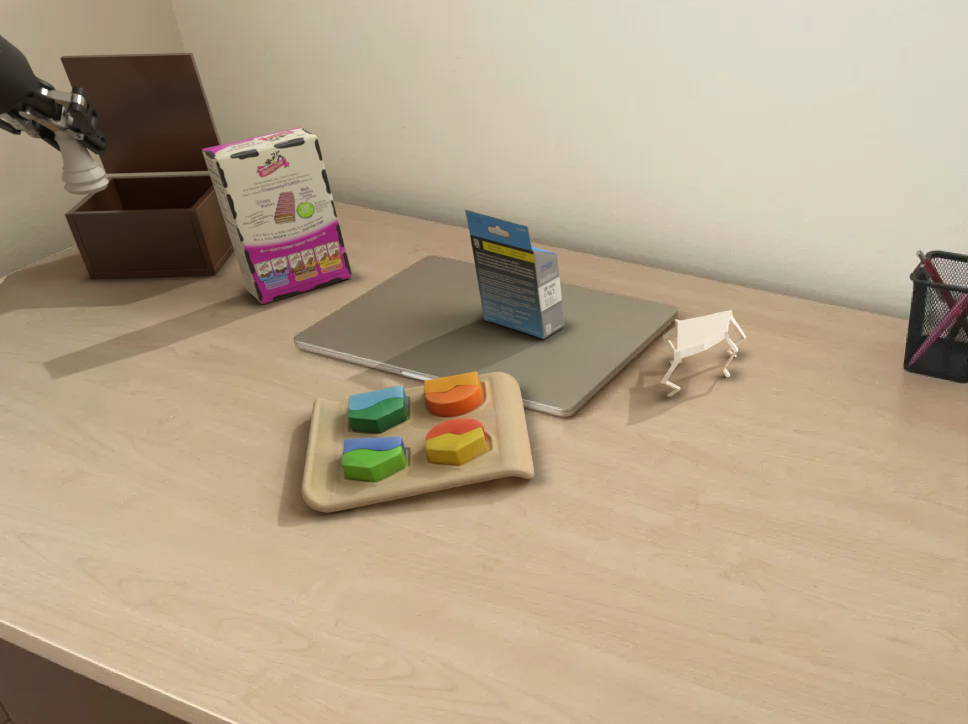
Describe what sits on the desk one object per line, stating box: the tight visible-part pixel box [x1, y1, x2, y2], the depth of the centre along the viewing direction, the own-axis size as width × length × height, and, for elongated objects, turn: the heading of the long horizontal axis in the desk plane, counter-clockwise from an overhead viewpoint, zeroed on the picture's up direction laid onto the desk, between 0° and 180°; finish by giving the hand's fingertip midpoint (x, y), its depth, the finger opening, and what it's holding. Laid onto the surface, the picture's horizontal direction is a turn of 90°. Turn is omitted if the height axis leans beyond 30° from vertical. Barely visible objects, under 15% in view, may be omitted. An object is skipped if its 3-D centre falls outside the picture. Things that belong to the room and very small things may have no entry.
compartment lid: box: [60, 52, 223, 175], centre depth 127 cm, size 14×15×5 cm
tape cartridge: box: [464, 209, 565, 340], centre depth 110 cm, size 9×4×12 cm, turn 57°
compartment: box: [64, 173, 235, 280], centre depth 127 cm, size 13×15×8 cm
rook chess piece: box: [54, 116, 109, 196], centre depth 114 cm, size 4×4×8 cm
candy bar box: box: [202, 126, 353, 305], centre depth 118 cm, size 11×5×16 cm, turn 130°
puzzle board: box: [300, 371, 535, 513], centre depth 94 cm, size 18×19×4 cm
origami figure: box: [660, 309, 747, 398], centre depth 103 cm, size 12×8×5 cm
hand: (85, 145), depth 115 cm, fingers closed on rook chess piece, 3 cm apart
